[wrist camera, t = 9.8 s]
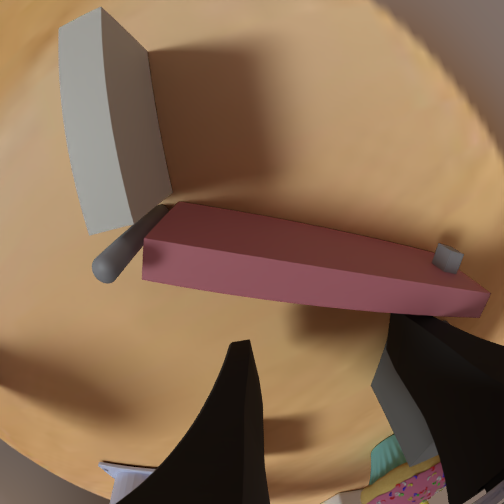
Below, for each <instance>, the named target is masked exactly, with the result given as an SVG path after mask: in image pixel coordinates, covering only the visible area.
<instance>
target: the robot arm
mask: <svg viewBox="0 0 504 504" xmlns="http://www.w3.org/2000/svg"><path fill="white" fill-rule="evenodd" d="M386 350H387V353H388V355H389V357H390V360H391V362H392V364H393V366H394V368H395V370H396V372H397V374H398V375H399V377H400V379H401V380H402V382H403V383H404V385H405V387H406V388H407V390H408V391H409V393H410V395H411V396H412V398H413V400H414V401H415V403H416V404H417V406H418V408H419V409H420V411H421V413H422V415H423V417H424V419H425V421H426V423H427V425H428V428H429V430H430V433H431V435H432V438H433V440H434V443H435V446H436V449H437V452H438V455H439V458H440V462H441V465H442V469H443V473H444V477H445V482H446V487H447V493H448V502H449V504H463V503H465V502H466V501H468V500H469V499H471V498H472V497H474V496H475V495H477V494H478V493H479V492H481V491H482V490H483V489H485V490H486V492H487V493H486V494H485V495H484V496H482V497H481V498H480V499H478V500H477V501H475V502H474V503H472V504H497V503H498V502H499V501H501V500H502V499H503V498H504V346H502V345H499V344H496V343H493V342H490V341H487V340H484V339H481V338H479V337H476V336H474V335H471V334H469V333H467V332H464V331H462V330H460V329H458V328H456V327H454V326H451V325H449V324H447V323H445V322H443V321H441V320H439V319H437V318H435V317H433V316H428V315H412V314H398V313H391V314H390V323H389V331H388V338H387V345H386ZM98 466H99V467H100V468H102V469H103V470H104V471H105V472H107V473H108V474H109V475H110V476H112V477H113V478H114V479H115V482H114V486H113V491H112V495H111V500H110V504H270V500H269V494H268V487H267V479H266V472H265V463H264V431H263V402H262V395H261V388H260V381H259V376H258V372H257V368H256V364H255V360H254V356H253V351H252V347H251V343H250V340H243V341H237V342H232V343H231V344H230V345H229V348H228V351H227V355H226V358H225V360H224V363H223V366H222V368H221V371H220V373H219V375H218V378H217V380H216V382H215V384H214V386H213V389H212V391H211V393H210V395H209V396H208V398H207V400H206V402H205V404H204V406H203V407H202V409H201V411H200V413H199V414H198V416H197V418H196V419H195V421H194V423H193V424H192V426H191V427H190V428H189V430H188V431H187V433H186V434H185V436H184V437H183V438H182V440H181V441H180V442H179V443H178V445H177V446H176V447H175V449H174V450H173V451H172V452H171V453H170V455H169V456H168V457H167V458H166V459H165V460H164V461H163V463H162V464H161V465H160V466H159V467H158V468H157V469H150V468H140V467H131V466H123V465H117V464H110V463H105V462H99V464H98ZM502 504H504V502H503V503H502Z"/></svg>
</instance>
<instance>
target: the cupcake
mask: <svg viewBox="0 0 504 504" xmlns="http://www.w3.org/2000/svg"><path fill="white" fill-rule="evenodd" d="M445 486H446V482H445V477H444V473H443V469H442V465H441V462H440V458H439V455H437V456H435V457H433V458H430V459H428V460H426V461H424V462H421V463H419V464H417V465H414V466H412V467H409V465H408V463H407V461H406V458H405V456H404V454H403V452H402V450H401V447H400V445H399V443H398V441H397V439H396V436H395V434H394V435H392V436H390V437H388V438H386V439H385V440H383V441H382V442H381V443H379V444H378V445H377V446H376V447H375V448H374V449H373V450H372V452H371V475H370V482H369V486H367V487H365V488H364V489H363V490H362V492H361V495H360V499H361V503H362V504H419V503H420V504H429V503H428V501H427V499H430V498H431V496H433V495H434V494H436V493H437V492H438V491H441V490H442V489H443V488H444V487H445Z"/></svg>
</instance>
